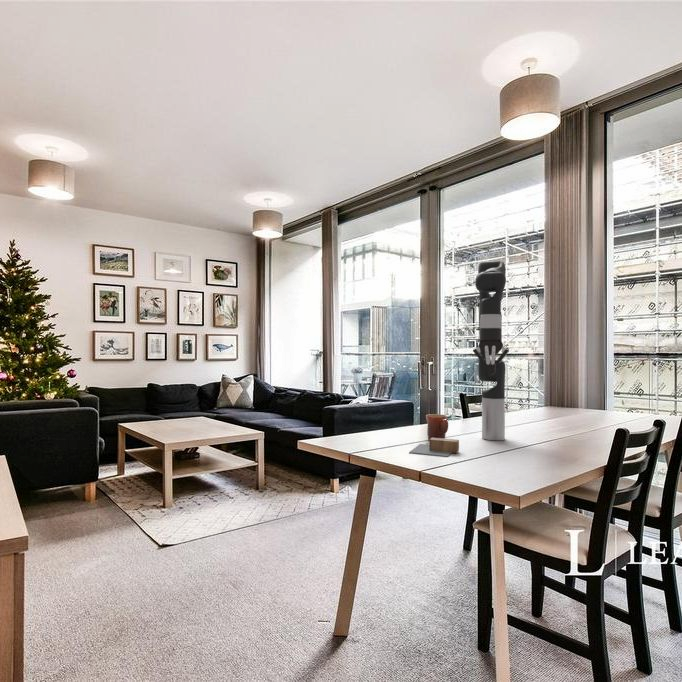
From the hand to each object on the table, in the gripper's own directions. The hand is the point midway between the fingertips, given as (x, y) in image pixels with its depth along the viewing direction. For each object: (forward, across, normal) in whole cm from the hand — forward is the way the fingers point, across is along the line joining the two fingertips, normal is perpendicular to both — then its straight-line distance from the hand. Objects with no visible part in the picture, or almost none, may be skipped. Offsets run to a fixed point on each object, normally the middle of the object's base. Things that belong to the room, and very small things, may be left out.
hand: (490, 374), depth 169 cm
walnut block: (+26, +11, +5) cm, 29 cm away
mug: (+29, +22, -14) cm, 39 cm away
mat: (+28, +20, +5) cm, 35 cm away
